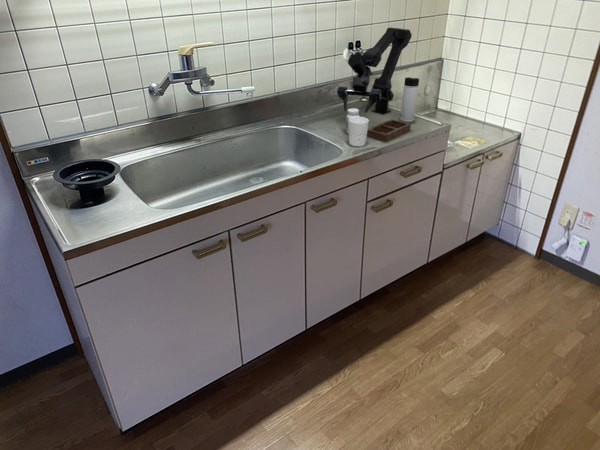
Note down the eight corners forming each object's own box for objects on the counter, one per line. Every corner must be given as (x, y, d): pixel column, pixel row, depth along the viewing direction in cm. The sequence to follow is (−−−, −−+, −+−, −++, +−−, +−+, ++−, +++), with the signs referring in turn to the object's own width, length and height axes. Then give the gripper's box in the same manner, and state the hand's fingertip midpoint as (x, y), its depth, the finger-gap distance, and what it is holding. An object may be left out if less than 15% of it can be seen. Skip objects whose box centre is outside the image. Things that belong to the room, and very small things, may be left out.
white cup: (356, 138, 195) (357, 115, 189) (370, 143, 190) (372, 119, 185) (343, 143, 190) (344, 119, 185) (358, 148, 185) (360, 124, 180)
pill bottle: (361, 131, 201) (362, 109, 196) (354, 135, 197) (355, 112, 192) (350, 129, 204) (351, 107, 199) (343, 132, 200) (344, 110, 195)
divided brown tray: (391, 125, 208) (391, 118, 207) (410, 130, 202) (411, 124, 201) (366, 136, 197) (366, 129, 195) (385, 142, 191) (386, 135, 189)
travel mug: (398, 122, 211) (403, 78, 200) (401, 118, 216) (406, 74, 206) (412, 124, 209) (418, 79, 198) (415, 120, 214) (420, 75, 204)
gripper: (338, 67, 197) (331, 100, 194) (382, 70, 192) (375, 104, 189) (342, 81, 208) (335, 112, 205) (384, 84, 203) (377, 116, 200)
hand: (355, 111), depth 199 cm, fingers open, 9 cm apart
